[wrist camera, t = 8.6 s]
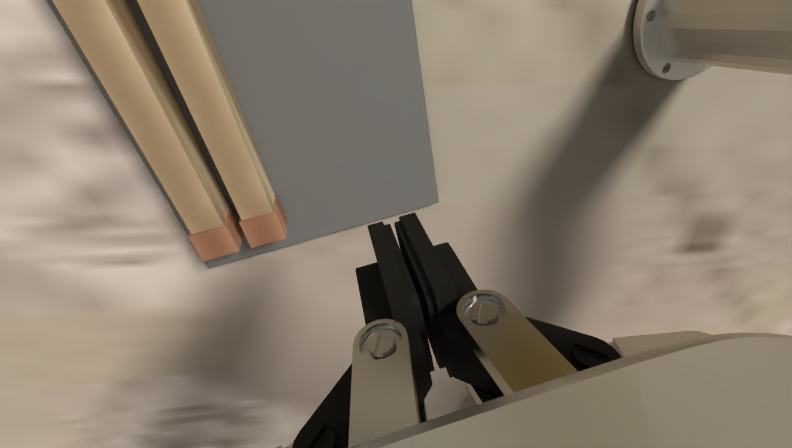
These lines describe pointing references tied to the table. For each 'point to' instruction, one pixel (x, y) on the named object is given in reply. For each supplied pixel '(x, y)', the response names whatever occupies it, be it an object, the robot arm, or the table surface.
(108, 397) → the table surface
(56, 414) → the table surface
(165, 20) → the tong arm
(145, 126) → the tongs fixed
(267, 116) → the mat
